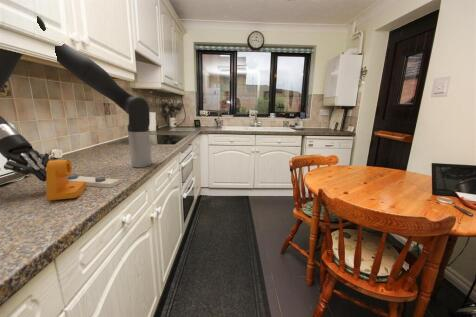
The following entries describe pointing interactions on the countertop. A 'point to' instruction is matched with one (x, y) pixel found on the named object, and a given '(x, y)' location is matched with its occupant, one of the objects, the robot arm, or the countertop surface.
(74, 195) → the bracket
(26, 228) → the countertop surface
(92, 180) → the board
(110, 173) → the countertop surface
